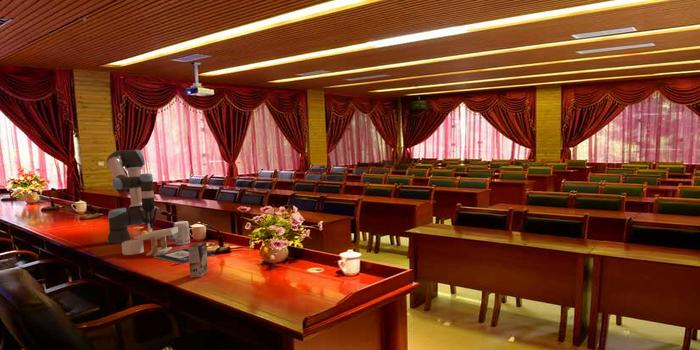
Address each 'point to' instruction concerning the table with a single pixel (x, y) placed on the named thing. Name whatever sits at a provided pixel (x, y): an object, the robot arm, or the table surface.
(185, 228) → the supplement tub
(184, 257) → the sketchbook
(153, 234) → the seesaw chute
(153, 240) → the chute stand
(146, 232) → the ball
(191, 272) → the coffee box
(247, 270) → the table surface
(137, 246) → the cup
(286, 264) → the table surface
